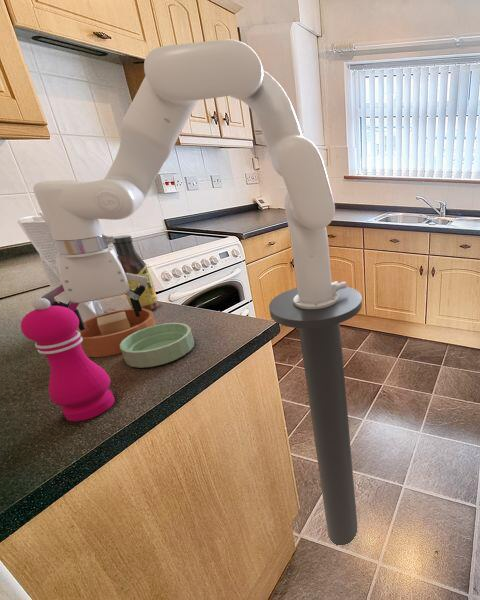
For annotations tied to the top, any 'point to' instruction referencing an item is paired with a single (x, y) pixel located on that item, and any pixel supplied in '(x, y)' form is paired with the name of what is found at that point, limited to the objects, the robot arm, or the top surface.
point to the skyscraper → (53, 261)
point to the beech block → (113, 323)
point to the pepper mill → (67, 362)
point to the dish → (157, 345)
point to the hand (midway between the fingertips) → (111, 321)
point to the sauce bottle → (135, 271)
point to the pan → (110, 344)
